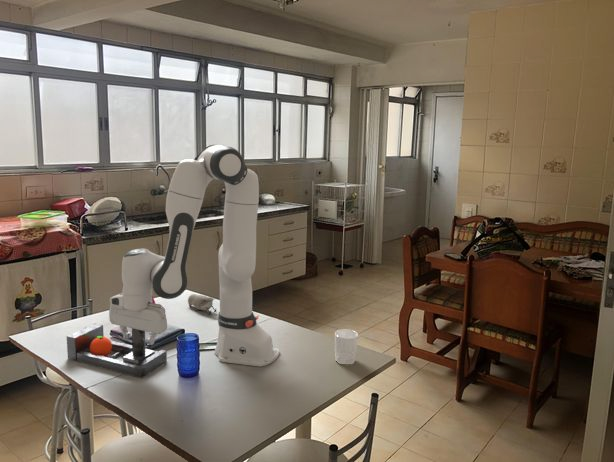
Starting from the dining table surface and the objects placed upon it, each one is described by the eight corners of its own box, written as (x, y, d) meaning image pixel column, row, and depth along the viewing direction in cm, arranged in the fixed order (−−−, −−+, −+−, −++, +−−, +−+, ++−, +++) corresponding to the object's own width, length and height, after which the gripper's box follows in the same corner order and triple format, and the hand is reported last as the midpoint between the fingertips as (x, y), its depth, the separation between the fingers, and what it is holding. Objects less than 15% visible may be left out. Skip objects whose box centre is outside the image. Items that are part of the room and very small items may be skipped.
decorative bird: (194, 304, 222) (194, 288, 220) (219, 313, 212) (219, 297, 211) (184, 307, 218) (184, 291, 216) (209, 317, 208) (209, 300, 206)
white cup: (339, 354, 178) (341, 327, 176) (360, 359, 174) (362, 332, 172) (329, 362, 171) (330, 334, 169) (350, 368, 167) (351, 340, 165)
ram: (155, 362, 166) (154, 325, 163) (138, 372, 158) (137, 333, 156) (140, 358, 168) (139, 321, 165) (123, 368, 160) (121, 330, 158)
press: (166, 362, 167) (166, 339, 165) (141, 378, 155) (140, 354, 154) (96, 344, 177) (95, 323, 176) (67, 358, 166) (66, 336, 164)
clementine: (85, 355, 169) (84, 335, 168) (106, 349, 174) (105, 330, 173) (95, 363, 164) (94, 343, 162) (116, 357, 168) (115, 337, 167)
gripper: (171, 302, 158) (171, 343, 161) (119, 292, 165) (120, 332, 168) (158, 308, 152) (159, 351, 155) (105, 297, 159) (106, 338, 162)
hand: (138, 341), depth 161 cm, fingers open, 8 cm apart
